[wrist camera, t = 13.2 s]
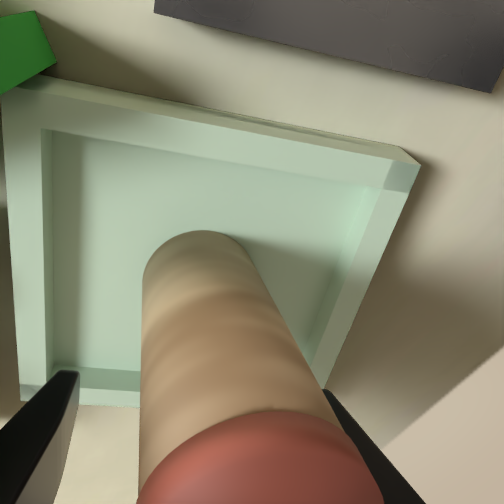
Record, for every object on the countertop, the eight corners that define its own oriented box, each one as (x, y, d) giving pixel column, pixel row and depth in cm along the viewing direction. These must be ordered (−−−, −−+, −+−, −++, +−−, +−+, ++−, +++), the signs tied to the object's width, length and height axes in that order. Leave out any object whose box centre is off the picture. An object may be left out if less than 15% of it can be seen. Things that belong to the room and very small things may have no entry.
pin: (266, 234, 13) (415, 446, 6) (246, 334, 14) (349, 613, 7) (145, 222, 12) (144, 457, 5) (135, 331, 13) (123, 649, 6)
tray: (399, 146, 13) (421, 165, 11) (302, 386, 18) (310, 418, 16) (23, 71, 11) (-1, 84, 9) (35, 366, 16) (20, 400, 14)
